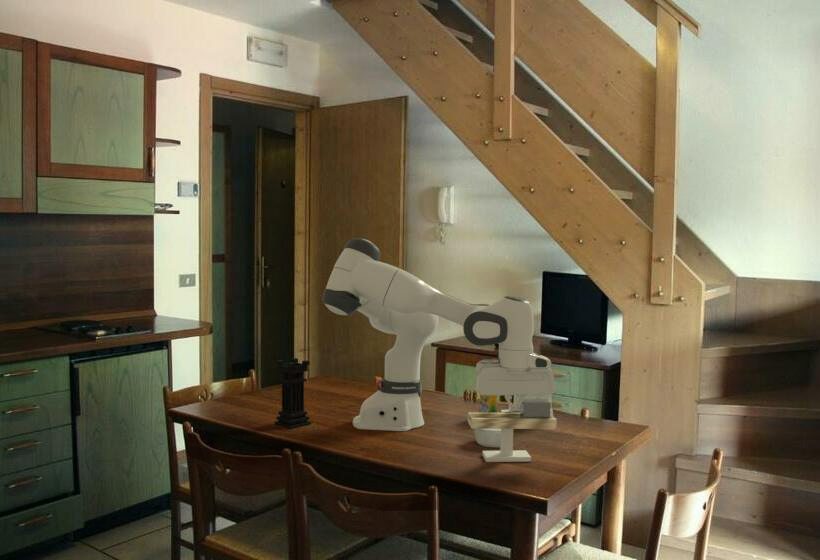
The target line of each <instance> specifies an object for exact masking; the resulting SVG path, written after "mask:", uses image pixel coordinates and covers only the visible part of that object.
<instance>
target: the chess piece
mask: <svg viewBox="0 0 820 560" xmlns="http://www.w3.org/2000/svg"><path fill="white" fill-rule="evenodd" d="M310 362H311V361H310V360H301V362H299V358H297V357H292V358H290V362H287V363H285V361H284V360H281V359H279V360H276V366H278V367H277V368H278V372H279V373H280V372H281V378H280V380H279V381H280V382H281V410H279V411H278V416H276V417H275V418H276V421H274V425H276V426H279V427H283V428H285V427H286V428H285V429H288V428H289V430H294V429H298V428H301V427H306V426H309V425H311V426H312V421H310V416H307V415H308V411H306V410H305V382H306V381H307V379H306V378H305V372H308V370H309V369H308V367H309V366H310ZM297 427H298V428H297ZM293 428H294V429H293Z"/></svg>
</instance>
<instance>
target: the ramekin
mask: <svg viewBox="0 0 820 560" xmlns="http://www.w3.org/2000/svg"><path fill="white" fill-rule="evenodd" d="M474 436H475V441H476V443H477V444H478V445H480V446H482V447H487V448H500V443H501V429H474Z"/></svg>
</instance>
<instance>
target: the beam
mask: <svg viewBox="0 0 820 560" xmlns="http://www.w3.org/2000/svg"><path fill="white" fill-rule="evenodd" d="M557 420H558V419H557V418H556V417H555V416H554V414H553V415H552V414H551V413H550V418H520V412H514V413H512V412H509V411H508V412H506V413H501V412H497V413H480V412H474V411H473V412H467V423H468V425H469V426H470V428H471V429H513V430H516V429H517V430H518V429H519V430H556V429H557Z"/></svg>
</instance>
